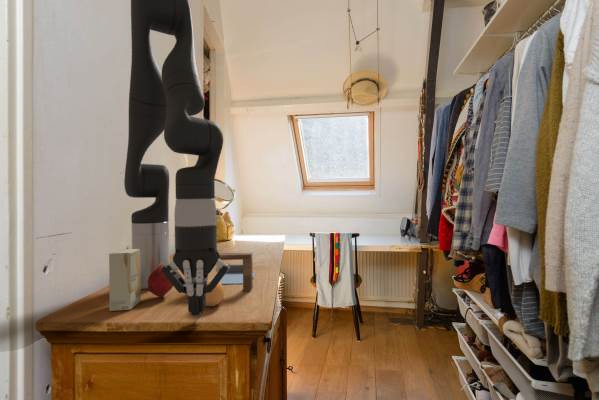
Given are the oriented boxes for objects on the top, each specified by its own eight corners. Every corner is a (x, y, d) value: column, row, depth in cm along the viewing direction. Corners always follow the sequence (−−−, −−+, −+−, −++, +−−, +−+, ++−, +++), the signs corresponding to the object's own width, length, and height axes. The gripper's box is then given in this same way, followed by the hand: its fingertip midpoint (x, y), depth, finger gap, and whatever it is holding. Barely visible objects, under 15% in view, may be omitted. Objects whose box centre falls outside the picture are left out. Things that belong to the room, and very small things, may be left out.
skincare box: (130, 310, 64) (130, 252, 64) (108, 312, 63) (107, 253, 63) (142, 300, 70) (141, 248, 70) (121, 301, 69) (120, 248, 69)
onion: (163, 302, 69) (163, 267, 69) (141, 300, 70) (141, 266, 70) (179, 294, 74) (178, 261, 74) (158, 292, 76) (157, 261, 75)
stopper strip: (223, 273, 95) (223, 265, 95) (224, 272, 96) (224, 264, 96) (249, 273, 95) (249, 265, 95) (249, 272, 96) (249, 264, 96)
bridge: (251, 290, 76) (250, 254, 76) (193, 292, 76) (192, 255, 76) (252, 287, 79) (252, 252, 79) (197, 288, 79) (196, 253, 79)
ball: (192, 308, 64) (192, 282, 64) (208, 300, 69) (208, 276, 69) (214, 311, 62) (214, 284, 62) (229, 302, 68) (228, 278, 68)
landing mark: (250, 283, 82) (249, 283, 82) (206, 284, 82) (206, 283, 82) (255, 273, 94) (255, 272, 94) (217, 273, 94) (217, 273, 94)
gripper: (151, 225, 53) (152, 322, 53) (226, 224, 53) (227, 321, 53) (169, 222, 61) (170, 307, 61) (234, 221, 61) (236, 306, 61)
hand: (197, 314), depth 57 cm, fingers closed
